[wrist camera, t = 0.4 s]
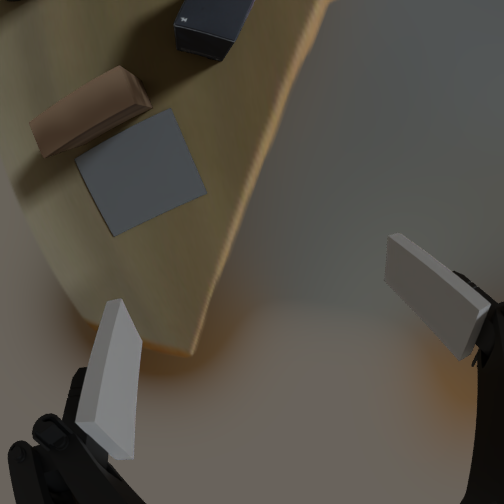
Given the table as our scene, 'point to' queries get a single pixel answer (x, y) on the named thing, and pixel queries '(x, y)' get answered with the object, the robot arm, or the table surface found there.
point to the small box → (210, 26)
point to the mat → (141, 173)
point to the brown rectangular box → (90, 111)
